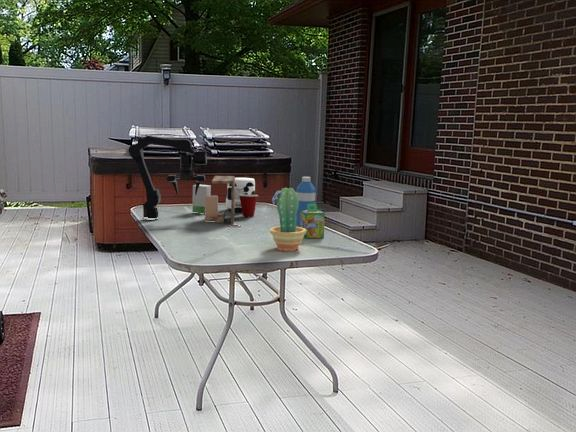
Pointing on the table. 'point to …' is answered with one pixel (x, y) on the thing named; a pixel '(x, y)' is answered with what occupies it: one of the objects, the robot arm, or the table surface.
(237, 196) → the milk container
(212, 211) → the terracotta box
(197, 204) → the skincare box
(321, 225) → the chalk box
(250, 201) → the plastic cup
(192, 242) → the table surface
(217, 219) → the shelf
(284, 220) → the potted cactus
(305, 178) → the water bottle
